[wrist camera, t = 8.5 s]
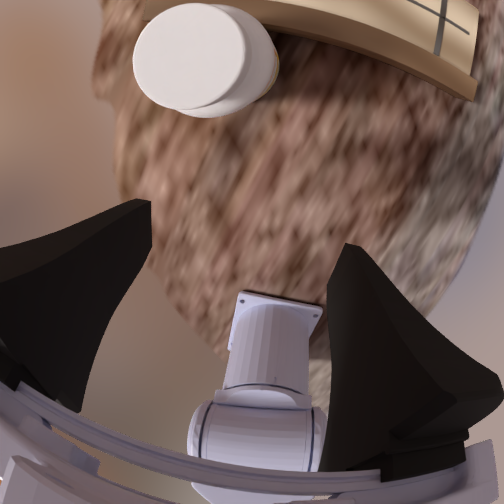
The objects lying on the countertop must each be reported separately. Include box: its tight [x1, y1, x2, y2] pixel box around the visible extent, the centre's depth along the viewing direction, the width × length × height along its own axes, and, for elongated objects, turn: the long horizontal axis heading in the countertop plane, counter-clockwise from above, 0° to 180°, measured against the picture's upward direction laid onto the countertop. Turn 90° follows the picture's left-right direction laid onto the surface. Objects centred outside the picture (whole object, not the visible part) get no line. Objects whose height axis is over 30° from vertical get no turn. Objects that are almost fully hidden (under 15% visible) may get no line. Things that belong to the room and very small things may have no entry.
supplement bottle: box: [133, 3, 279, 118], centre depth 11 cm, size 5×5×10 cm
